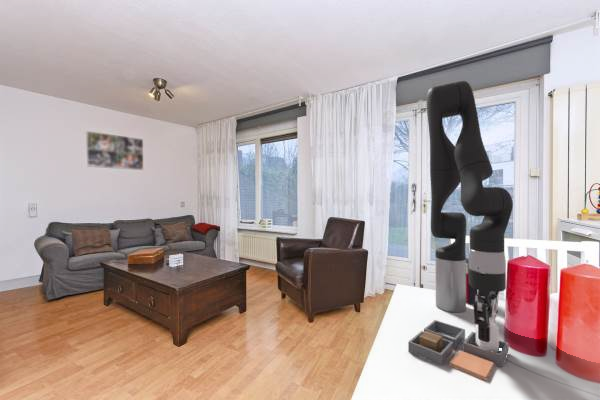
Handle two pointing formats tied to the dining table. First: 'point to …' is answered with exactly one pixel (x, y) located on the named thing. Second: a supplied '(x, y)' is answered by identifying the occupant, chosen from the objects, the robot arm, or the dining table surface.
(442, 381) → the dining table surface
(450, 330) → the empty bin
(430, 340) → the walnut cube
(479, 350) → the shaker bin
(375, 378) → the dining table surface
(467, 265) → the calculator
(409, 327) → the dining table surface
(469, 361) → the terracotta pad
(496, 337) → the salt shaker
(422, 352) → the bin with cube
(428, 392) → the dining table surface
